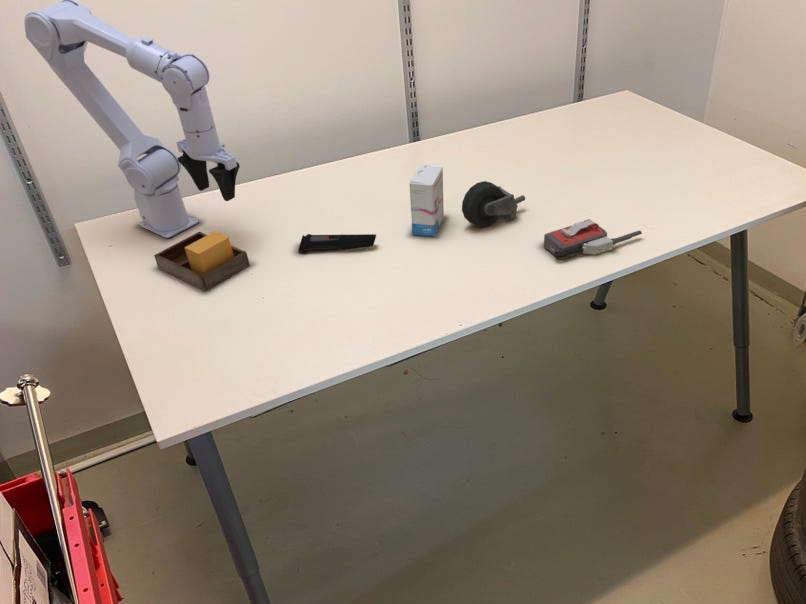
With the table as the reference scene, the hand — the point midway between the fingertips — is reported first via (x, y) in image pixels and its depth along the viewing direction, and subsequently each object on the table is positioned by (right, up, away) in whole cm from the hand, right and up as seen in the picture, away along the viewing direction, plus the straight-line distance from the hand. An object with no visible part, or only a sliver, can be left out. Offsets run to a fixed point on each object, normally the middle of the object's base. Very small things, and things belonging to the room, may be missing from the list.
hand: (216, 193), depth 142 cm
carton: (+1, -15, -5) cm, 16 cm away
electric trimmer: (+23, -10, +2) cm, 26 cm away
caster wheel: (+55, -3, +10) cm, 56 cm away
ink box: (+41, -5, +8) cm, 42 cm away
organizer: (-1, -15, -3) cm, 15 cm away
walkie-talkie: (+74, -10, +3) cm, 75 cm away
